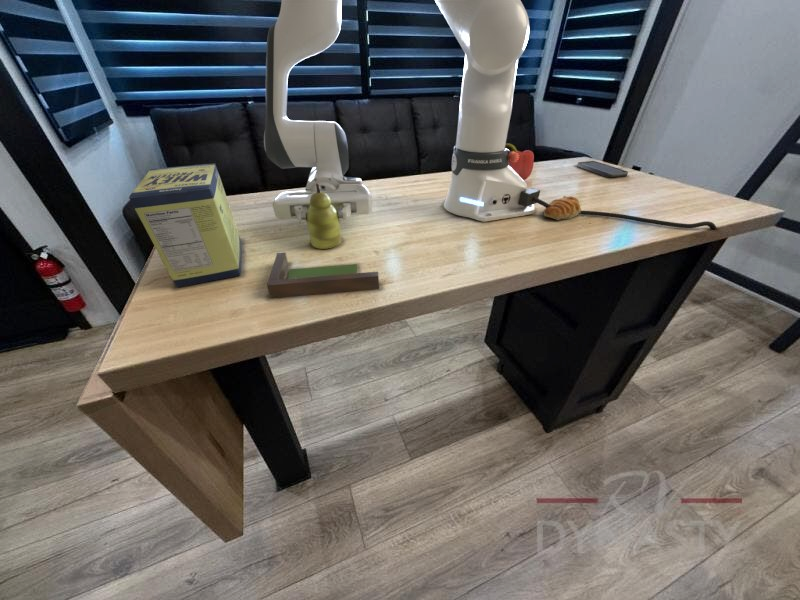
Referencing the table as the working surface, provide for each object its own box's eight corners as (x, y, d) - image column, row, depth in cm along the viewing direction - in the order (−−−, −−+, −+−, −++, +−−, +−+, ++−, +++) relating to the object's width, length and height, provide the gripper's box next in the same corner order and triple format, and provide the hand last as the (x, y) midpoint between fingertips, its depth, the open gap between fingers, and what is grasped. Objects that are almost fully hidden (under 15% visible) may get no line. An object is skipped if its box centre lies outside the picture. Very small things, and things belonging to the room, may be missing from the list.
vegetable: (487, 179, 100) (493, 145, 94) (506, 173, 106) (512, 140, 100) (518, 188, 94) (526, 151, 88) (536, 180, 99) (545, 145, 93)
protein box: (241, 239, 68) (215, 161, 58) (242, 276, 56) (210, 187, 47) (186, 248, 64) (149, 167, 55) (175, 289, 53) (126, 196, 44)
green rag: (356, 264, 59) (356, 264, 59) (357, 284, 54) (357, 284, 54) (289, 270, 58) (289, 269, 58) (284, 291, 53) (284, 290, 53)
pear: (341, 234, 69) (334, 177, 62) (341, 247, 64) (334, 188, 57) (312, 236, 68) (301, 179, 61) (310, 249, 63) (298, 189, 56)
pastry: (561, 224, 73) (566, 208, 71) (535, 215, 78) (539, 200, 75) (581, 214, 78) (586, 199, 76) (555, 206, 82) (560, 192, 80)
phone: (610, 174, 100) (576, 162, 112) (609, 178, 101) (575, 165, 113) (630, 172, 102) (594, 160, 114) (628, 175, 103) (593, 163, 114)
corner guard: (373, 257, 61) (373, 246, 60) (379, 288, 53) (378, 276, 52) (280, 264, 59) (276, 252, 58) (270, 298, 51) (266, 285, 50)
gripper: (275, 182, 70) (263, 205, 59) (368, 178, 72) (373, 199, 61) (281, 210, 74) (271, 236, 63) (369, 205, 76) (374, 229, 65)
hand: (322, 218), depth 62 cm, fingers closed on pear, 6 cm apart
